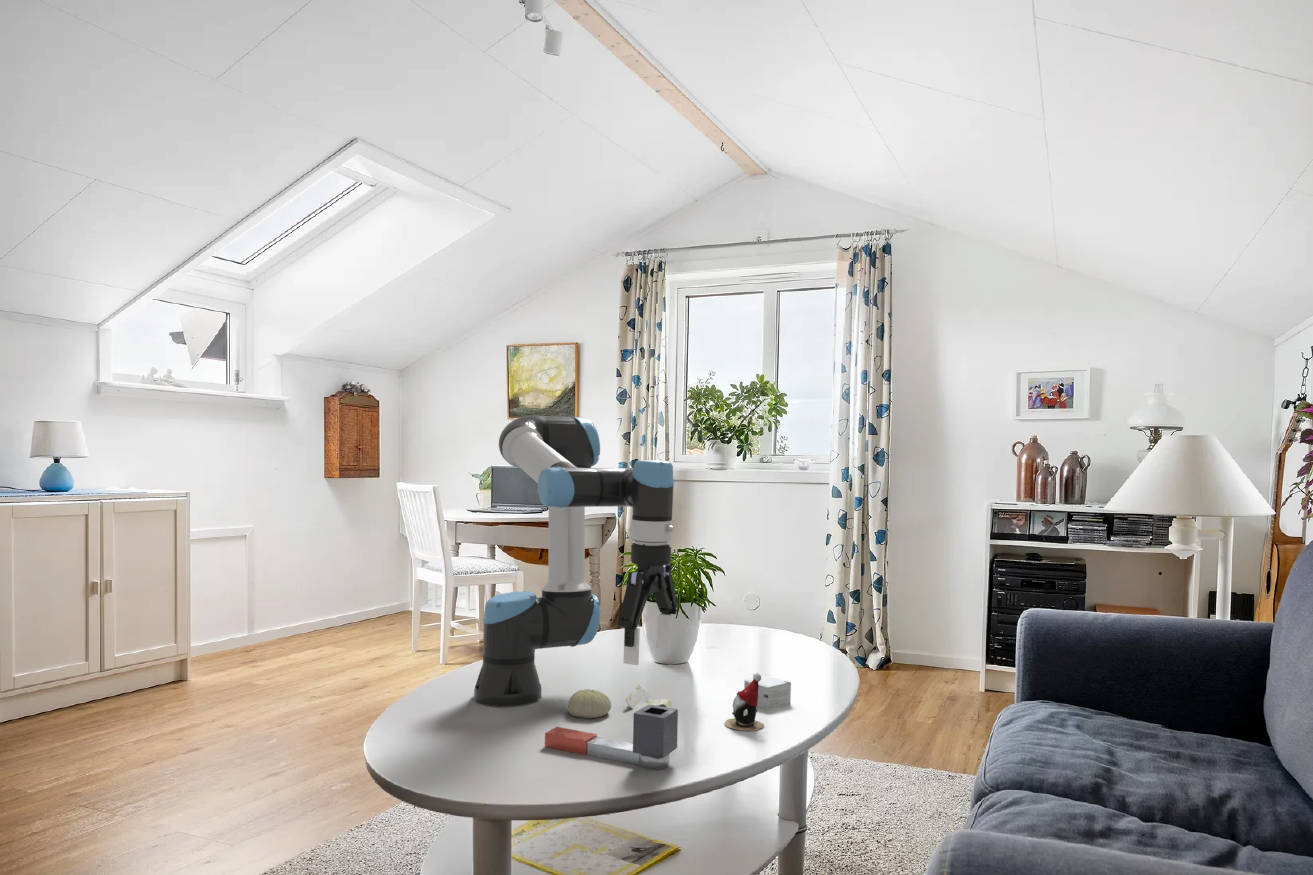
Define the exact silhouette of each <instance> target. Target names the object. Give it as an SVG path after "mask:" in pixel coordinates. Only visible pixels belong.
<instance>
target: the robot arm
mask: <svg viewBox="0 0 1313 875" xmlns="http://www.w3.org/2000/svg"><path fill="white" fill-rule="evenodd" d="M498 438H499V439H498V450H499V453H500V455H501V456H502V458H503V460H505V462H506V463H508V464H509V465H510V466H512V467H514V468H517V469H521V470H522V471H523V472H524V473H526V475H527V476H528V477H530V478H531V479H532V480H533V481H534V482H535V483H537V494H538V497H539V501H540V503H541V504H542V505H544V506H545V507H548V551H547V552H548V553H547V554H548V562H547V563H548V565H547V566H548V570H547V572H548V573H547V574H548V578H547V580H548V581H547V582H546V584H544V586H543V587H541V597H538V596H537V595H536V593H535V592H534V591H529V590H528V591H527V590H524V591H523V590H522V591H512V592H511V591H510V592H505V593H501V594H498V595H494V596H492V597H491V598H489V599H488V600H487V601H486V603H485V604H484V613H483V618H482V623H483V640H482V641H483V642H482V644H483V647H482V666H481V668H480V670H479V675H478V677H477V679H476V682H475V683H476V684H475V685H474V689H473V691H474V693H473V699H474V701H475V702H476V703H479V704H481V705H486V706H490V707H504V708H506V707H518V706H525V705H529V704H533V703H536V702H537V701H539V700H540V699H541V698H542V684H541V682H540V677H539V675H538V670H537V667H536V662H535V658H536V656H535V655H536V652H535V651H536V650H537V649H539V650H541V649H549V648H551V649H552V648H553V649H554V648H561V647H562V648H563V647H570V648H571V647H572V648H573V647H577V646H582V645H587V644H589V643H591V642H592V641H593V639H594V638H595V637H596V635H597V633H598V631H599V628H600V623H601V606H600V600H599V598H598V597H597V595H595V594H593V593H592V587H591V586H590V585H589V584H588V583H587V581H586V574H585V573H586V563H585V562H586V561H585V560H586V559H585V558H586V556H585V554H586V552H585V551H586V547H585V546H586V544H585V543H586V541H585V540H586V539H585V538H586V537H585V536H586V535H585V534H586V531H585V530H586V527H585V524H586V523H585V522H586V520H585V517H586V515H585V514H586V509H585V508H587V507H588V508H589V507H592V508H593V507H600V508H601V507H602V508H603V507H631V508H632V517H631V519H632V520H631V536H630V538H631V539H630V540H632V541H633V542H632V544H631V545H630V547H631V548H630V562H631V563H632V564H635V565H637V569H636V571H634V572H633V571H629V572H628V573H627V583H626V587H625V592H624V595H623V596H624V597H623V601H622V605H621V608H620V612H619V616H618V620H617V625H618V627H619V628H623V630H624V633H623V635H624V636H623V660H622V661H623V664H625V665H627V664H628V665H633V666H638V665H640V664H639V661H640V660H639V658H640V633H641V632H640V630H641V628H640V627H638V626H639V623H640V621H641V620H640V619H641V617H642V614H643V611H644V609H645V606H646V604H647V600H648V599H649V598H651V597H652V594H653V598H654V600H655V603H656V606H657V608H658V610H659V613H657V615H656V643H655V645H656V646H655V647H656V648H660V649H665V650H670V649H671V646H672V644H671V642H672V641H671V640H672V637H671V636H672V615H677V612H678V609H677V608H678V602H677V598H676V597H677V596H676V591H675V587H674V586H675V585H674V581H673V577H672V565H671V564H670V563H671V560H672V545H671V543H669V542H671V540H672V532H673V531H674V526H672V525H673V521H672V520H673V506H674V505H673V504H674V502H673V501H674V484H675V479H674V465H673V464H672V462H671V461H668V460H658V459H657V460H655V459H654V460H652V459H640V460H639V459H638V460H637V461H635V463H634V465H633V468H632V467H629V466H628V467H623V466H622V467H617V468H615V467H607V468H606V467H594V466H596V465H597V464H598V462H599V460H600V457H599V456H600V454H601V443H600V437H599V433H598V430H597V427H596V426H595V424H594V423H593V422H592V421H591V420H590V419H588V418H585V417H577V416H559V415H558V416H557V415H555V416H554V415H553V416H552V415H536V414H535V415H534V414H533V415H531V414H530V415H524V416H521V417H518V418H515V419H514V420H512V421H511V422H510V423H508V424H507V425H506V426H505V427H504V428H503V430H502V431H501V433H500V436H499V437H498Z"/></svg>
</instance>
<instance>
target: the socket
mask: <svg viewBox="0 0 1313 875" xmlns="http://www.w3.org/2000/svg"><path fill="white" fill-rule="evenodd" d="M644 706H645V705H644ZM644 706H643V707H641V708H640V709H638V710H636V711H635V712H634V713H633V728H632V729H633V731H632V732H633V734H632V744H633V753H639V754H644V755H649V756H654V757H659V758H664V757H665V756H667V755H668V754H669V755H670V753H673V752H674V751H675V750H676V749H678V726H679V724H678V719H679V718H678V716H679V709H678V708H673V707H671V708H667V707H666V706H662V705H659V706H655V705H649V704H648V705H647V706H645V707H644Z"/></svg>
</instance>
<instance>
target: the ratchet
mask: <svg viewBox="0 0 1313 875" xmlns="http://www.w3.org/2000/svg"><path fill="white" fill-rule="evenodd" d="M544 748H549V749H555V750H559V751H564V752H570V753H575V754H580V755H584V756H586V755H587V756H594V757H598V758H603V759H608V760H613V761H619V762H621V763H622V762H624V763H626V764H627V763H628V764H633V765H638V766H639V767H641V768H643V769H647V770H663V769H665V768H668V767H669V766H670V753H669V754H668V755H667V756H665V757H664V758H659V757H654V756H649V755H644V754H639V753H633V742H632V743H631V742H627V741H622V740H621V741H620V740H616V739H610V738H605V737H600V736H598V733H592V732H587V731H582V730H577V729H572V728H566V727H560V726H556V727H555V726H554V728H552V729H550V730H548V731H546V732H545V733H544Z"/></svg>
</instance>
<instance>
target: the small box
mask: <svg viewBox="0 0 1313 875" xmlns="http://www.w3.org/2000/svg"><path fill="white" fill-rule="evenodd" d="M752 681H753V677H752V678H748V679H744V681H743V683H744V686H743V687H744V688H743V689H745V688H746V687H747V686H748V685H749V684H750V683H751V682H752ZM758 684H759V687H758V702H757V707H761V708H764V709H766V710H770V709H775V708H778V707H779V708H780V707H781V706H785V705H786V706H787V705H789V704H791V700H792V698H791V694H792V682H791V681H787V680H784V679H782V678H778V677H776V676H775V677H774V676H770V675H767V674H766V675H761V680H760V681H759V682H758Z"/></svg>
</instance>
